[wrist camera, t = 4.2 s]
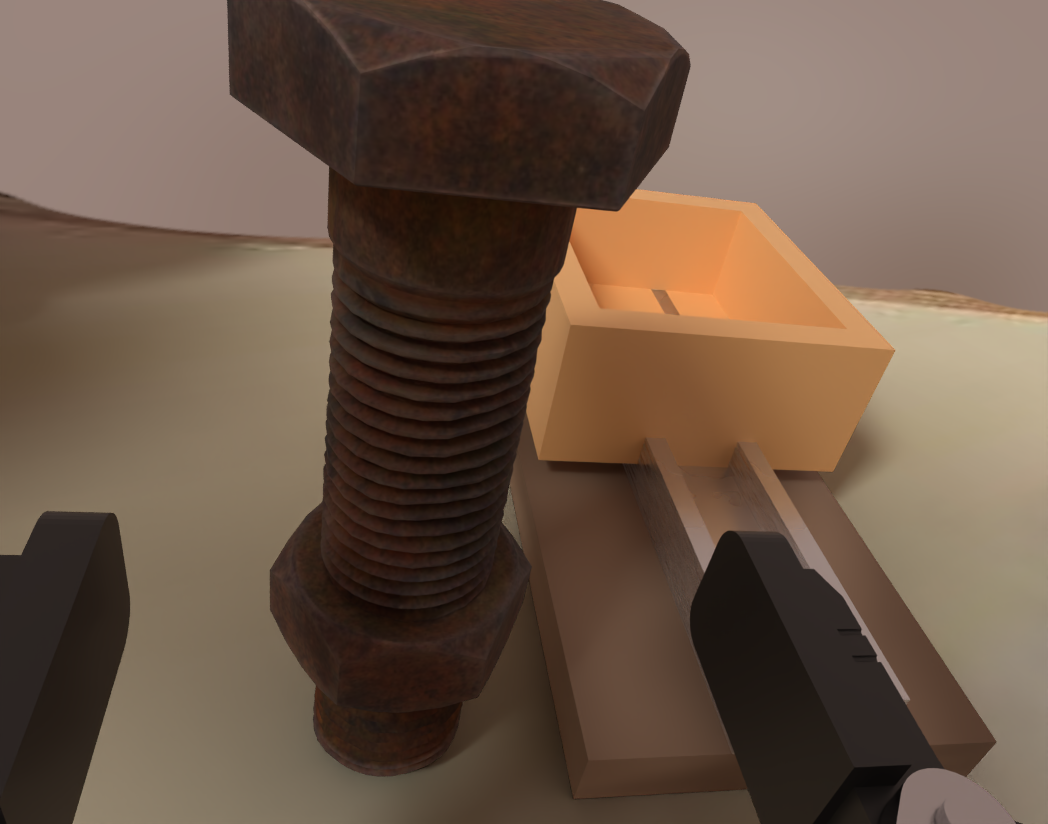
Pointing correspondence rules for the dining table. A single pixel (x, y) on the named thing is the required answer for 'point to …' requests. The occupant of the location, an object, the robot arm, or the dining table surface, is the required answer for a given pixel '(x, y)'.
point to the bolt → (436, 316)
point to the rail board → (682, 635)
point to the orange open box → (698, 341)
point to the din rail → (719, 518)
